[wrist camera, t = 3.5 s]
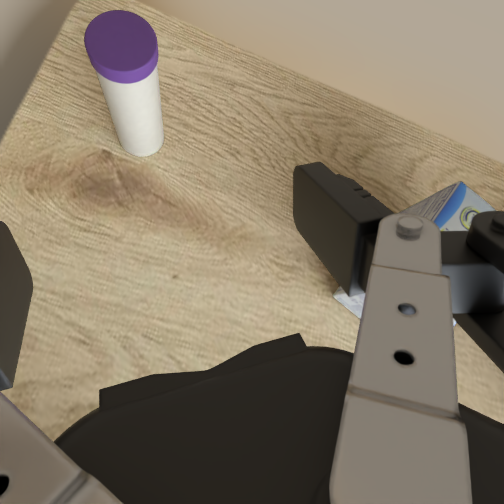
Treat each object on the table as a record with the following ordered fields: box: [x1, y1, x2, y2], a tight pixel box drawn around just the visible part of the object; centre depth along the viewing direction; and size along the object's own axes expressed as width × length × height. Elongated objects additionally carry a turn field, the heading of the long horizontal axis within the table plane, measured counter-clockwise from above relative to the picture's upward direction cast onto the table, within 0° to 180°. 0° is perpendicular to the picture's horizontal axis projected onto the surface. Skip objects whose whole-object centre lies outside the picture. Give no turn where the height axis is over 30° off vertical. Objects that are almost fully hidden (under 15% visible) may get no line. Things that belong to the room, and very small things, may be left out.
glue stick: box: [84, 10, 164, 157], centre depth 24 cm, size 3×3×10 cm
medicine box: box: [333, 181, 496, 327], centre depth 26 cm, size 8×4×9 cm, turn 141°
